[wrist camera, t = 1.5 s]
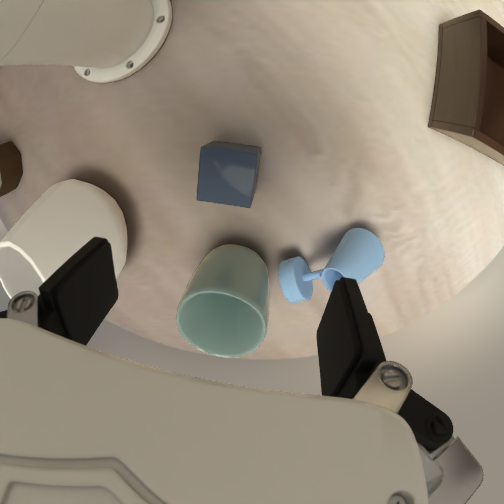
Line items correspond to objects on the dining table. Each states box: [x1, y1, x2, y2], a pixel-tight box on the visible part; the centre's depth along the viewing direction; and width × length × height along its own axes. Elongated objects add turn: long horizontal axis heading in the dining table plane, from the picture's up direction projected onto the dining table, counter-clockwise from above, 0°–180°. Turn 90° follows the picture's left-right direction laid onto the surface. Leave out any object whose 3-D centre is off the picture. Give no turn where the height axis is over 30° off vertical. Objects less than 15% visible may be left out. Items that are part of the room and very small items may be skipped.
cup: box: [176, 244, 270, 358], centre depth 27 cm, size 8×8×10 cm
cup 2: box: [0, 179, 128, 298], centre depth 24 cm, size 13×13×14 cm
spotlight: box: [278, 228, 384, 303], centre depth 26 cm, size 5×10×7 cm, turn 117°
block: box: [197, 141, 262, 208], centre depth 24 cm, size 5×5×5 cm
